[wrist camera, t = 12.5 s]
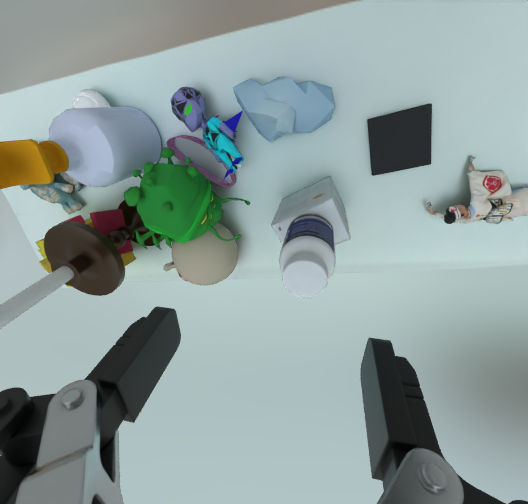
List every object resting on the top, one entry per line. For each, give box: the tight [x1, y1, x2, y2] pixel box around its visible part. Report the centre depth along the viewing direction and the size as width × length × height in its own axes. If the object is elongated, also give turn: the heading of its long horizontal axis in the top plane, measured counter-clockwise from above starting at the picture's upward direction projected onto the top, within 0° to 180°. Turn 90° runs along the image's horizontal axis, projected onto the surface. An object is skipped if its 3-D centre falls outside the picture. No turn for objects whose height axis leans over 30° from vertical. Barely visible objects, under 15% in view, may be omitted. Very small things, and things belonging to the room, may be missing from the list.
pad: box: [368, 104, 432, 176], centre depth 35 cm, size 7×7×1 cm
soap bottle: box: [0, 106, 162, 189], centre depth 31 cm, size 9×9×25 cm
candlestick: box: [0, 200, 162, 329], centre depth 33 cm, size 11×11×35 cm
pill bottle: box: [279, 212, 336, 298], centre depth 28 cm, size 5×5×10 cm
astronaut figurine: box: [73, 89, 110, 109], centre depth 40 cm, size 9×12×3 cm
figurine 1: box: [171, 87, 244, 179], centre depth 35 cm, size 7×6×12 cm
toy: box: [35, 209, 136, 287], centre depth 47 cm, size 13×10×15 cm
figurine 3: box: [426, 156, 528, 224], centre depth 35 cm, size 6×8×15 cm
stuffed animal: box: [20, 172, 82, 214], centre depth 45 cm, size 11×7×12 cm
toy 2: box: [164, 222, 238, 285], centre depth 43 cm, size 10×12×10 cm
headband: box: [167, 135, 236, 188], centre depth 40 cm, size 11×4×2 cm, turn 58°
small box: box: [271, 176, 350, 245], centre depth 37 cm, size 8×6×10 cm
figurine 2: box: [124, 148, 250, 250], centre depth 36 cm, size 13×15×10 cm
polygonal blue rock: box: [233, 77, 335, 142], centre depth 34 cm, size 13×7×5 cm, turn 94°
